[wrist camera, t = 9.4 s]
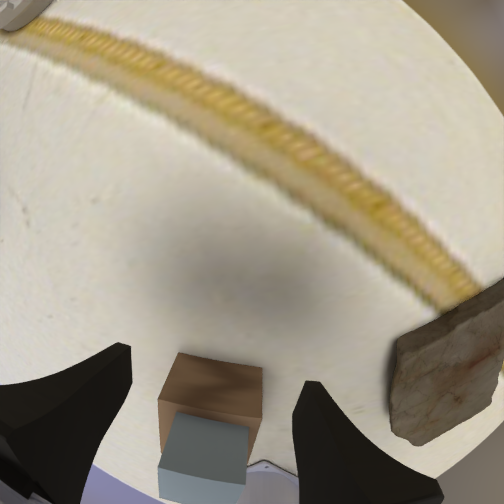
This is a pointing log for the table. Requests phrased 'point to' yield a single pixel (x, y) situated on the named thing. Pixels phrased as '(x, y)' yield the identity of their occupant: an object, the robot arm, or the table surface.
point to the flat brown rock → (448, 368)
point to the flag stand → (19, 12)
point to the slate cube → (203, 461)
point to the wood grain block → (211, 394)
